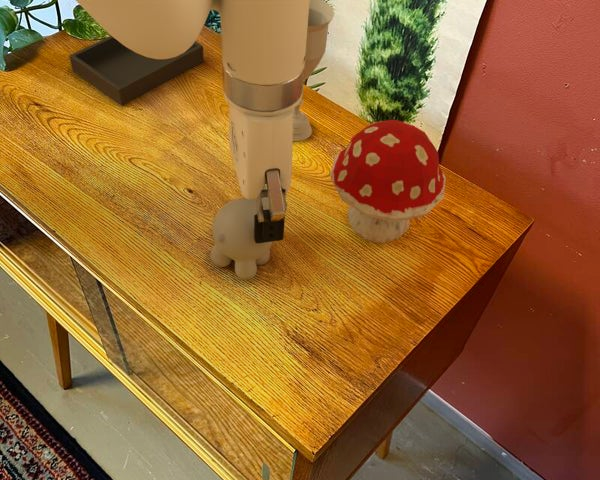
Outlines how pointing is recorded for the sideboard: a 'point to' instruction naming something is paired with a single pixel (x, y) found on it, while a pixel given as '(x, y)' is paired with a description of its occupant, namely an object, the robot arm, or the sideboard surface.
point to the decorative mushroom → (388, 179)
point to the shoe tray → (129, 68)
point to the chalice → (312, 58)
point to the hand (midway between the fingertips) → (260, 211)
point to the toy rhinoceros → (239, 237)
